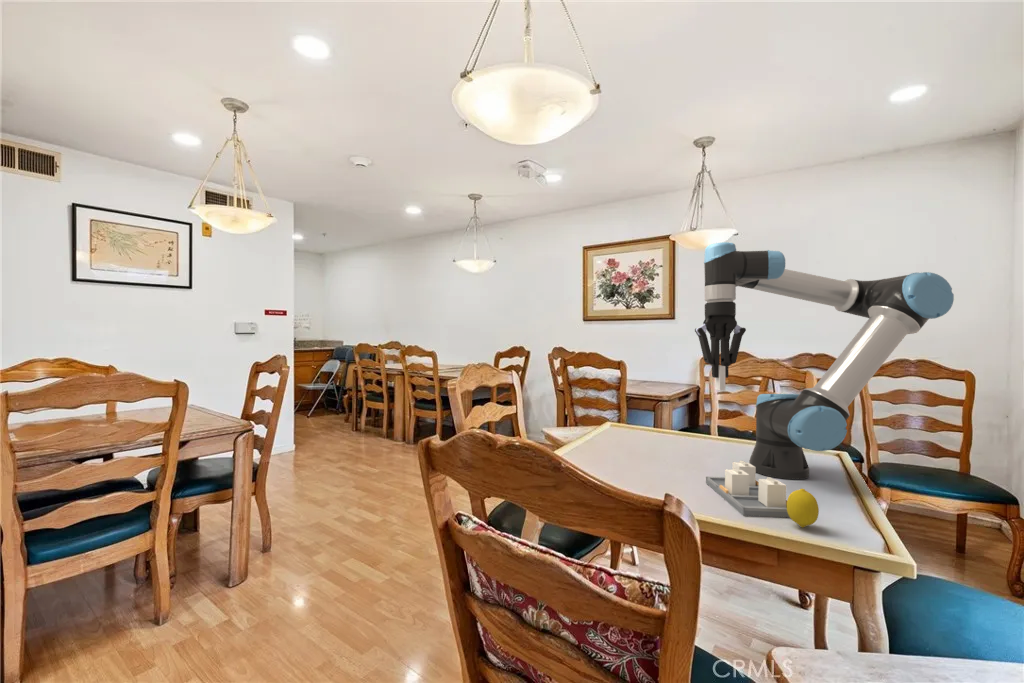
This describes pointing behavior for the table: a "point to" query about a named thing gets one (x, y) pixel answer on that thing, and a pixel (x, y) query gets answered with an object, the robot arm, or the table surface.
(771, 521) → the table surface
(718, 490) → the frame
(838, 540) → the table surface
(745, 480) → the cream ridged block
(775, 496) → the tab
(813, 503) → the lemon
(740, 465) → the tab
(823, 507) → the table surface
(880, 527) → the table surface
